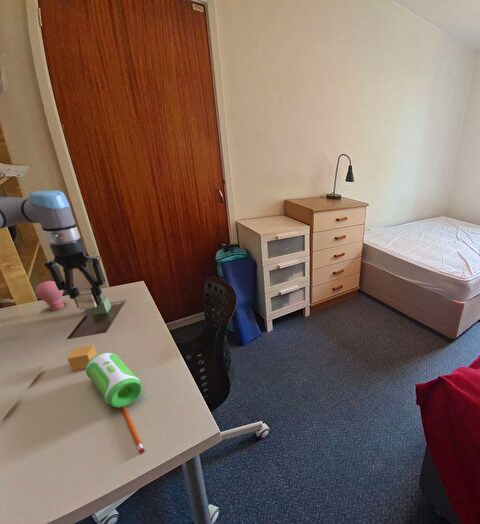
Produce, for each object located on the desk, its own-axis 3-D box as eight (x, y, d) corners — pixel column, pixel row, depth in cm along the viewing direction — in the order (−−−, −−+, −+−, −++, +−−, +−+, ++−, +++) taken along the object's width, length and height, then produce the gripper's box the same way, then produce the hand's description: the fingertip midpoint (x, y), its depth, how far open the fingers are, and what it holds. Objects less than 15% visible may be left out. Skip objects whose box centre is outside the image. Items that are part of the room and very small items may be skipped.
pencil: (140, 454, 59) (139, 452, 59) (118, 402, 70) (117, 400, 70) (145, 451, 60) (144, 448, 59) (122, 400, 71) (121, 398, 71)
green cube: (91, 315, 102) (87, 304, 101) (96, 309, 106) (92, 298, 104) (107, 313, 104) (103, 302, 102) (111, 306, 108) (107, 296, 106)
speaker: (88, 381, 76) (79, 360, 73) (121, 366, 81) (113, 345, 78) (113, 416, 67) (103, 393, 64) (147, 396, 72) (139, 373, 69)
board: (61, 342, 90) (59, 340, 89) (87, 310, 107) (86, 308, 106) (107, 334, 94) (106, 332, 94) (125, 305, 111) (124, 303, 111)
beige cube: (85, 303, 99) (80, 292, 97) (100, 300, 100) (96, 289, 99) (79, 309, 95) (74, 298, 93) (95, 307, 96) (91, 295, 95)
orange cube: (72, 371, 79) (66, 358, 77) (79, 360, 83) (74, 348, 81) (92, 367, 81) (87, 354, 79) (98, 356, 85) (93, 344, 83)
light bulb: (43, 310, 106) (30, 282, 101) (69, 303, 111) (58, 276, 106) (45, 317, 102) (32, 288, 97) (72, 309, 107) (60, 281, 102)
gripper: (20, 247, 82) (51, 315, 91) (95, 242, 88) (117, 305, 97) (35, 240, 88) (63, 303, 97) (104, 235, 95) (123, 295, 104)
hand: (90, 304), depth 97 cm, fingers closed on beige cube, 4 cm apart
